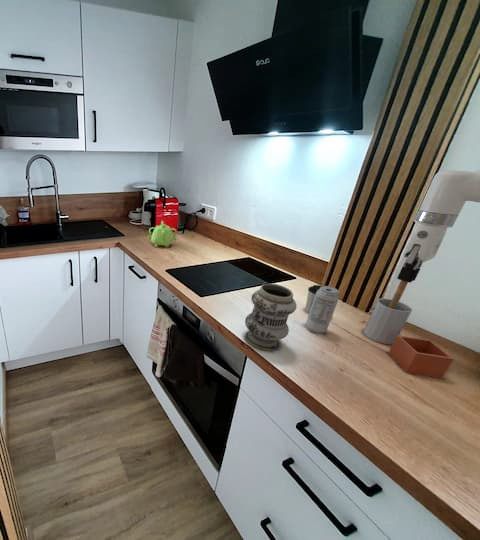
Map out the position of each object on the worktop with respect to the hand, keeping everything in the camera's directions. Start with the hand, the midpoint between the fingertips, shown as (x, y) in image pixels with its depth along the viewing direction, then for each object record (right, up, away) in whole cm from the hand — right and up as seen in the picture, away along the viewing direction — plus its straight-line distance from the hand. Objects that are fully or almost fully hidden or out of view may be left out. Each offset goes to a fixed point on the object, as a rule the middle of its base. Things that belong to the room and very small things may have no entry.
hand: (405, 279), depth 84 cm
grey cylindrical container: (-1, -19, +8) cm, 21 cm away
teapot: (-59, +19, +91) cm, 110 cm away
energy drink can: (-19, -17, +11) cm, 28 cm away
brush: (-1, -15, +7) cm, 17 cm away
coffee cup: (-13, -13, +21) cm, 28 cm away
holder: (-2, -24, -4) cm, 25 cm away
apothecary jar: (-41, -19, +5) cm, 45 cm away
